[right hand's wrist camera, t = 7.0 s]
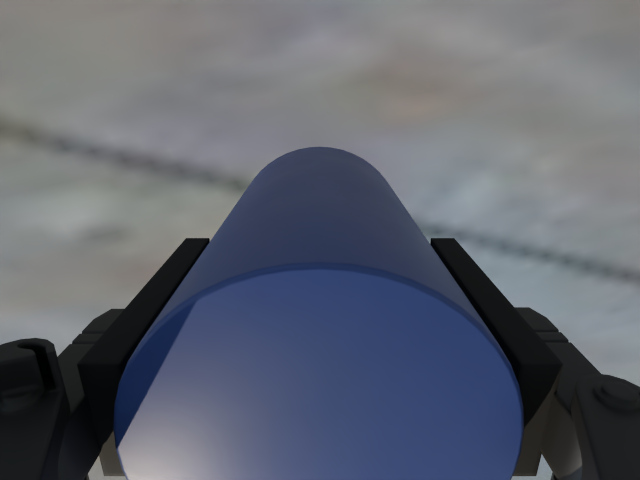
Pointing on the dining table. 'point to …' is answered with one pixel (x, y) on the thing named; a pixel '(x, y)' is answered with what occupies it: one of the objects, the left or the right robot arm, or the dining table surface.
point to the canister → (318, 347)
